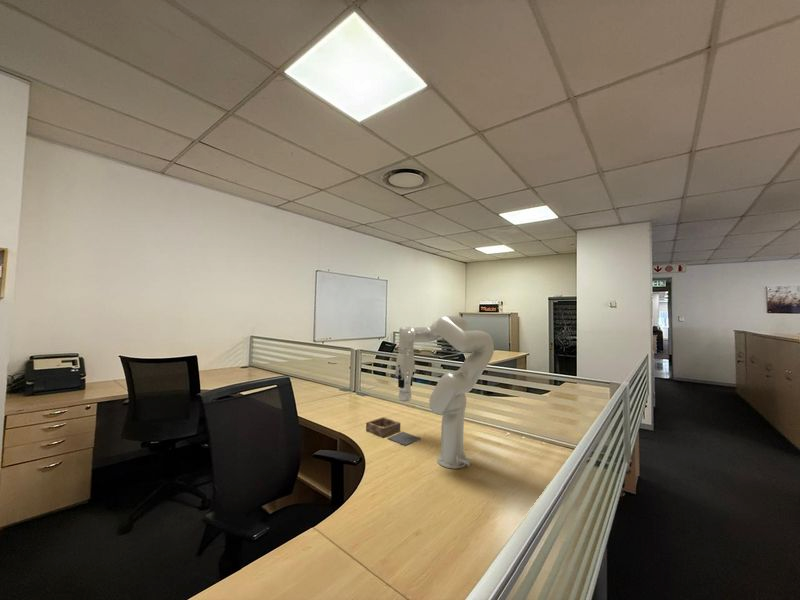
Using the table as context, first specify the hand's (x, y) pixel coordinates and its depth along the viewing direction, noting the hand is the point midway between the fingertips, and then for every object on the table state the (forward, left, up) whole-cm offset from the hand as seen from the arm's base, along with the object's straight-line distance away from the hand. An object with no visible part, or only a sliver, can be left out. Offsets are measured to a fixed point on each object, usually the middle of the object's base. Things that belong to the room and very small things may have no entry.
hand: (405, 386), depth 165 cm
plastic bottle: (0, 0, -8) cm, 8 cm away
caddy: (+15, 0, -27) cm, 31 cm away
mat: (0, 0, -27) cm, 27 cm away
